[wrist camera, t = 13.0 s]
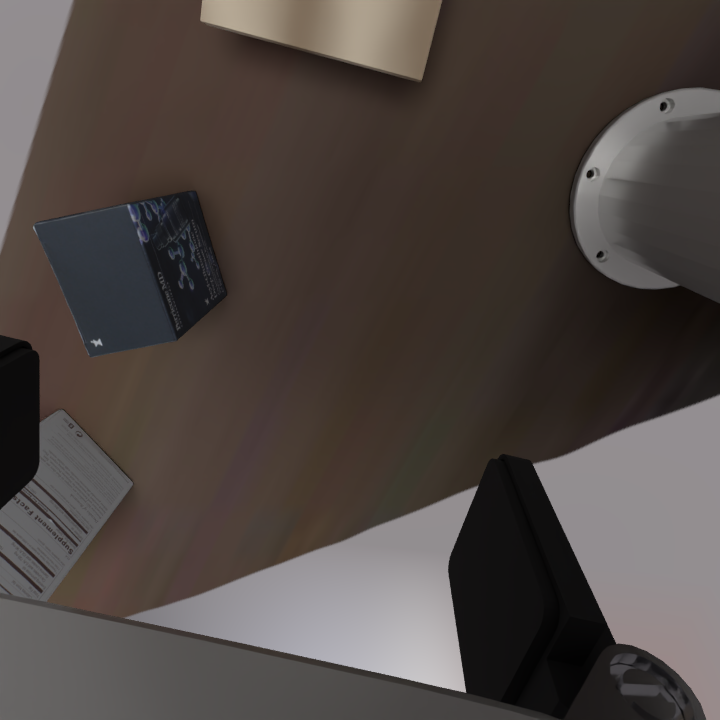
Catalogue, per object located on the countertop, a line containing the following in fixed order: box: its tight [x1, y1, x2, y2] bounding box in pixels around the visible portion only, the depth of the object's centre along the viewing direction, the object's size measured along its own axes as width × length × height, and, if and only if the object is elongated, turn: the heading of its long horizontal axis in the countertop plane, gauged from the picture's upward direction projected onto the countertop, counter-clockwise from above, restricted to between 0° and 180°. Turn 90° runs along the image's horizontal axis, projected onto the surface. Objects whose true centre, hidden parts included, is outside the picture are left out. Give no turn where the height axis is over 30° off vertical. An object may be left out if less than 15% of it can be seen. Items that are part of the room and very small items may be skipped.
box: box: [33, 191, 227, 357], centre depth 33 cm, size 8×6×11 cm
